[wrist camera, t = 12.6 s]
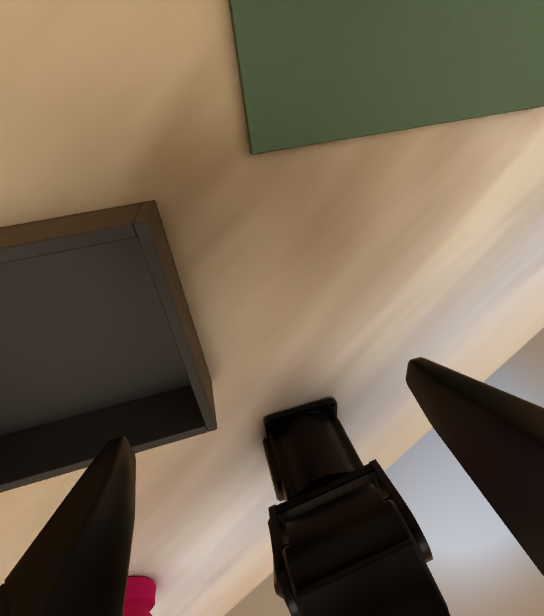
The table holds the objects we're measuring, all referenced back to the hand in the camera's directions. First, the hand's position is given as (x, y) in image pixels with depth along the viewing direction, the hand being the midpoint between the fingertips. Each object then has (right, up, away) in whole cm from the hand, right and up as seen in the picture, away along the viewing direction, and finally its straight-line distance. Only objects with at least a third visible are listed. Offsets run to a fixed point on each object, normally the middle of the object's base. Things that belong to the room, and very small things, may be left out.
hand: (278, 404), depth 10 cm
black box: (-13, +1, +9) cm, 16 cm away
